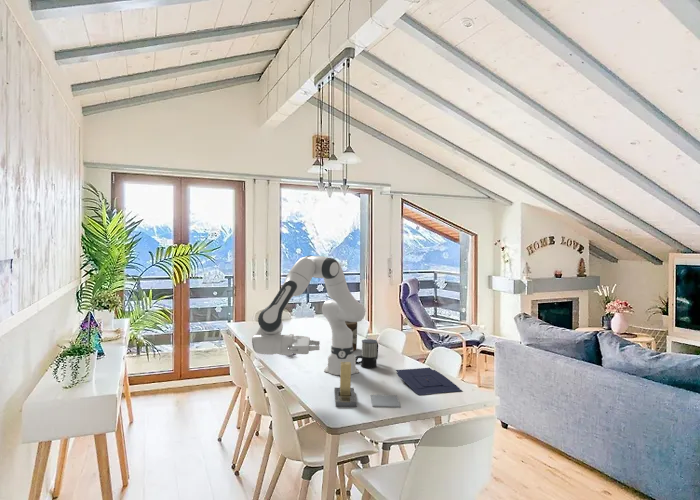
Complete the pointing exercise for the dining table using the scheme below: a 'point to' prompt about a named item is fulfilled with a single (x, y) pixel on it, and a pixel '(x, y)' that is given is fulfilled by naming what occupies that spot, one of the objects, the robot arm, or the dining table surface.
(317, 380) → the dining table surface
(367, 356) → the milk frother
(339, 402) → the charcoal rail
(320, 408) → the dining table surface
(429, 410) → the dining table surface
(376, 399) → the grey mat
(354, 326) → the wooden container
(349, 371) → the brass peg
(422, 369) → the navy flat rectangular piece
